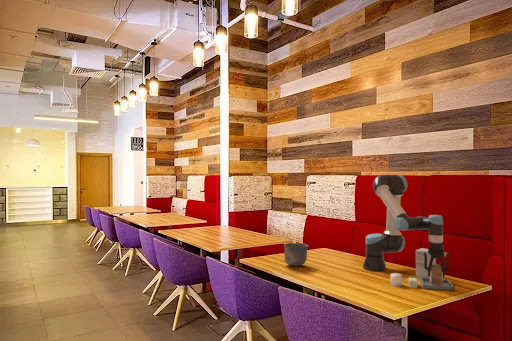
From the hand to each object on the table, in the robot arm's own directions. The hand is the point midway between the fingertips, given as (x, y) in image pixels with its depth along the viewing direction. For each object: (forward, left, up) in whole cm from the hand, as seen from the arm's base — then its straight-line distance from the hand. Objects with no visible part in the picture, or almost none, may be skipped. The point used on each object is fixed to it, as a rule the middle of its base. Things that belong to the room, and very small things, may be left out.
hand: (436, 282), depth 216 cm
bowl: (-24, -87, -2) cm, 90 cm away
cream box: (+4, -13, -2) cm, 14 cm away
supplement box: (-20, -3, -2) cm, 20 cm away
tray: (0, 0, -2) cm, 2 cm away
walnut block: (0, 0, 0) cm, 0 cm away
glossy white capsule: (+4, -22, -2) cm, 22 cm away
